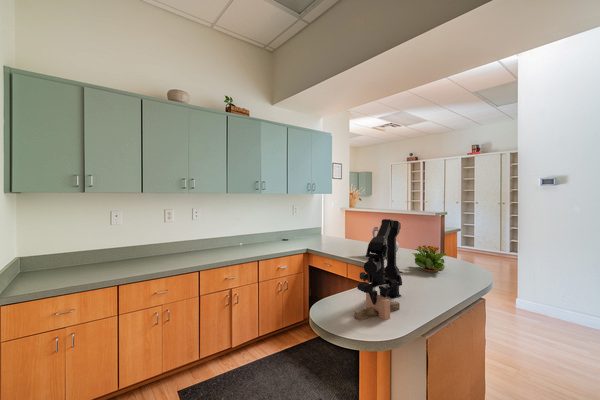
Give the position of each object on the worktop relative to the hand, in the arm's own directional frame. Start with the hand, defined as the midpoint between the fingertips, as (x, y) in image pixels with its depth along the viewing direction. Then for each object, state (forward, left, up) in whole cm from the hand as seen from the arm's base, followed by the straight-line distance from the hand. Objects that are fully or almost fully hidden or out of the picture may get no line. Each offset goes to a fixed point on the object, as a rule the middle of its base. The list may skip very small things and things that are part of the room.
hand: (377, 303), depth 122 cm
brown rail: (0, 0, -4) cm, 4 cm away
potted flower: (-79, -35, -5) cm, 87 cm away
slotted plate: (0, 0, -5) cm, 5 cm away
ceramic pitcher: (-84, -83, -5) cm, 118 cm away
